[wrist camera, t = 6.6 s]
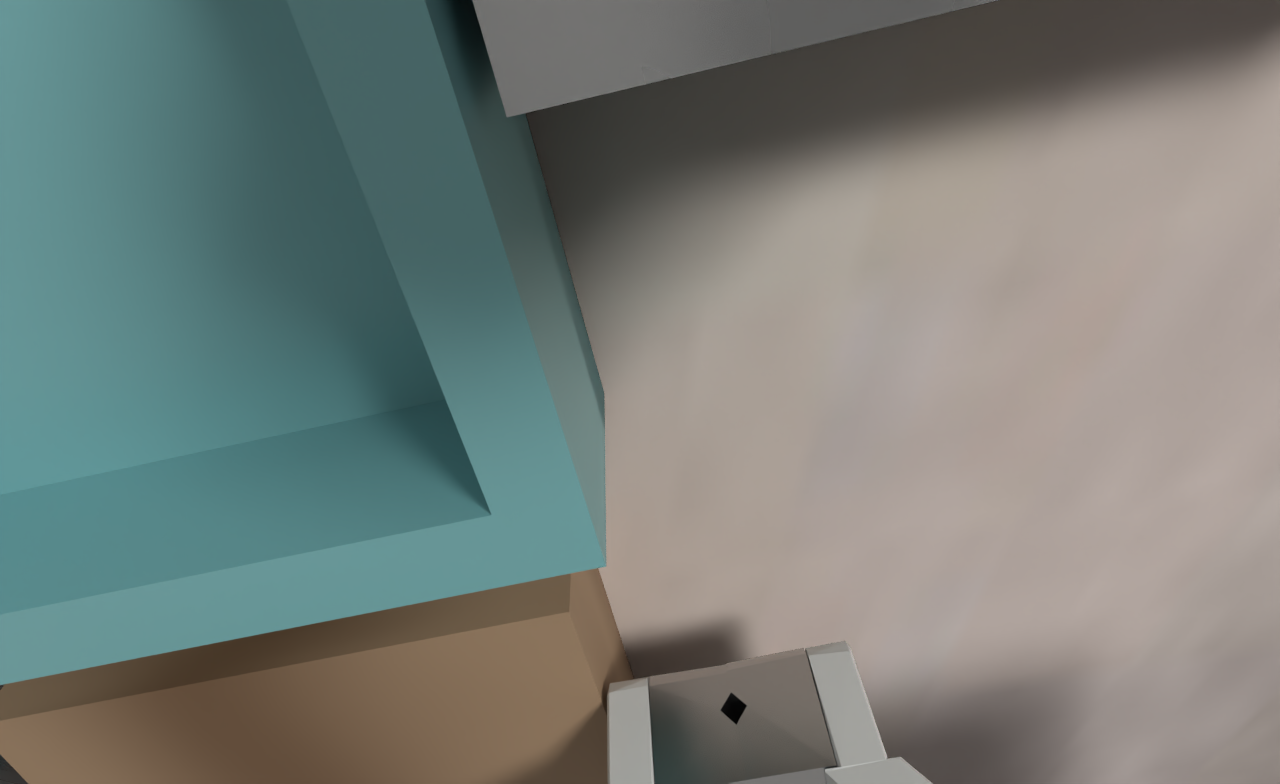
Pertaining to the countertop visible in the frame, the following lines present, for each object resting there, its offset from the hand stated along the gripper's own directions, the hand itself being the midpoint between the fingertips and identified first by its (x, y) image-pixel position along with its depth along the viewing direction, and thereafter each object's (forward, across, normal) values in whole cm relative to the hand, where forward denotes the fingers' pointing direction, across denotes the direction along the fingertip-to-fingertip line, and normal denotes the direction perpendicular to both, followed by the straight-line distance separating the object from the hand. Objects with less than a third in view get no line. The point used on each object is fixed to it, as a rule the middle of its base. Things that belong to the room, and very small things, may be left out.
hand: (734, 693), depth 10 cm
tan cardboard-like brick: (+2, +5, 0) cm, 5 cm away
